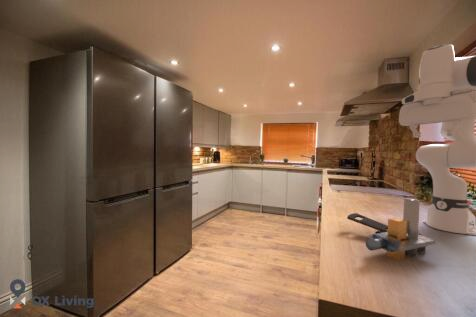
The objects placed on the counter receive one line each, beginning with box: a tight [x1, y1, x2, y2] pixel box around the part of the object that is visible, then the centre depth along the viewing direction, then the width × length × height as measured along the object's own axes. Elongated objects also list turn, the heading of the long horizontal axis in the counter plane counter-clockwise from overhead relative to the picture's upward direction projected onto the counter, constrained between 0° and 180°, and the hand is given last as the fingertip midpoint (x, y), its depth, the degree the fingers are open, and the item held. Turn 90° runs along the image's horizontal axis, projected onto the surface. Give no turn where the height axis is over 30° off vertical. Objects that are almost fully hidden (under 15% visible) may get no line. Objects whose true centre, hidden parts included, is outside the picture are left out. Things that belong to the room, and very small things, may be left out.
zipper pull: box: [346, 212, 427, 254], centre depth 83 cm, size 9×7×25 cm
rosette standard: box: [364, 197, 437, 258], centre depth 68 cm, size 23×10×18 cm, turn 112°
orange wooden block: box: [386, 217, 406, 261], centre depth 69 cm, size 4×3×12 cm
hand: (432, 136), depth 73 cm, fingers open, 8 cm apart
